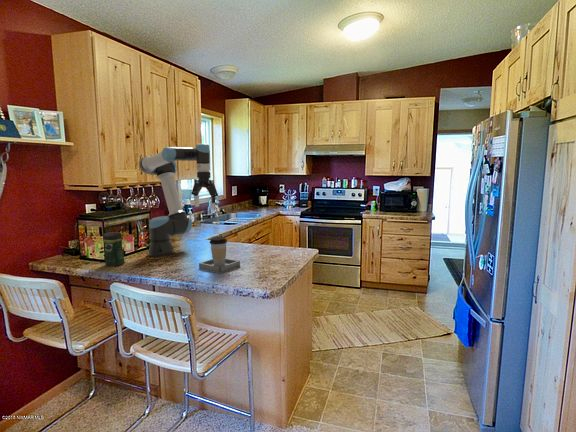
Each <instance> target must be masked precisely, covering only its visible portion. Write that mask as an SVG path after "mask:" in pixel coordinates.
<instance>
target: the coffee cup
mask: <svg viewBox="0 0 576 432" xmlns="http://www.w3.org/2000/svg"><path fill="white" fill-rule="evenodd" d="M227 243H228V240H227V239H226V237H222V236H217V237H216V236H215V237H212V238H210V240H209V244H210V250H211V258H212V259H213V263H214V266H217V267H222V266H225V258H227Z"/></svg>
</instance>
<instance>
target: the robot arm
mask: <svg viewBox="0 0 576 432" xmlns="http://www.w3.org/2000/svg"><path fill="white" fill-rule="evenodd" d="M210 149H211V148H210V145H209V144H208V143H196V145H195V147H177V146H167V147H166V146H165V147H164V148H163V149H162V151H160V152H158V153H155V154H153V155H146V156H144V157H142V158H141V159H140V161H139V162H138V165H139V166H138V167H139V169H140V171H142V173H144V174H147V175H150V176H151V175H152V176H153V175H156V178H157V179H158V180H159V181H160V183H161V184H160V185H161V187H162V188H161V189H162V190H163V194H164V199H165V202H166V206H167V208H168V212H169V213H168V215H162V216H156V217H153V218H151V219H150V220H149V227H148V228H149V236H150V244H149V249H148V252H147V253H148V256H149V257H154V258H155V257H156V258H158V257H165V256H166V257H167V256H171V255H173V254H175V249H174V247H173V245H172V241H171V236H179V235H184V234H189V233H190V232H191V230H192V227H193V220H192V217H191V216H190V215H189V214H187V212H186V211H184V209H183V206H182V203H181V200H180V196H179V192H178V189H177V185H176V182H175V178H174V177H175V176H176V173H177V170H178V168H177V167H178V166H177V163H176V161H178V162H179V161H181V162H182V161H183V162H184V161H186V162H187V161H190V162H196V170H197V172H196V177H197V178H196V179H194V182H193V186H192V190H191V195H193V198H194V201H193V202H194V207H195V208H197V207H200V192H201V190H202V188H205V189H206V190H207V192H208V194H209V196H210V198H209V199H210V201H209V202H210V209H211V210H212V209H213V210H214V209H216V198H217V197H219V194H218V191H217V188H216V185H215V180H214V179H211V150H210Z"/></svg>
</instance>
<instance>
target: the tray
mask: <svg viewBox="0 0 576 432" xmlns="http://www.w3.org/2000/svg"><path fill="white" fill-rule="evenodd" d="M239 267H241V262H240V260H236V259H232V258H231V259H230V258H227V257H226V258H225V266H222V267H217V266H214V263H213V258H212V259H208V260H204V261H201V262H199V263H198V269H199V270H204V271H207V272H213V273H217V274H224V273H225V272H228V271H231V270H234V269H236V268H239Z"/></svg>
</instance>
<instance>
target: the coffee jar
mask: <svg viewBox="0 0 576 432" xmlns="http://www.w3.org/2000/svg"><path fill="white" fill-rule="evenodd" d="M122 235H123V234H122V233H121V232H116V231H114V232H113V231H112V232H110V231H108V232H105V233H104V234H103V236H102V242H103V244H104V263H105V266H110V267H116V266H122V265H124V264H125V256H124V249H123V236H122Z"/></svg>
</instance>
